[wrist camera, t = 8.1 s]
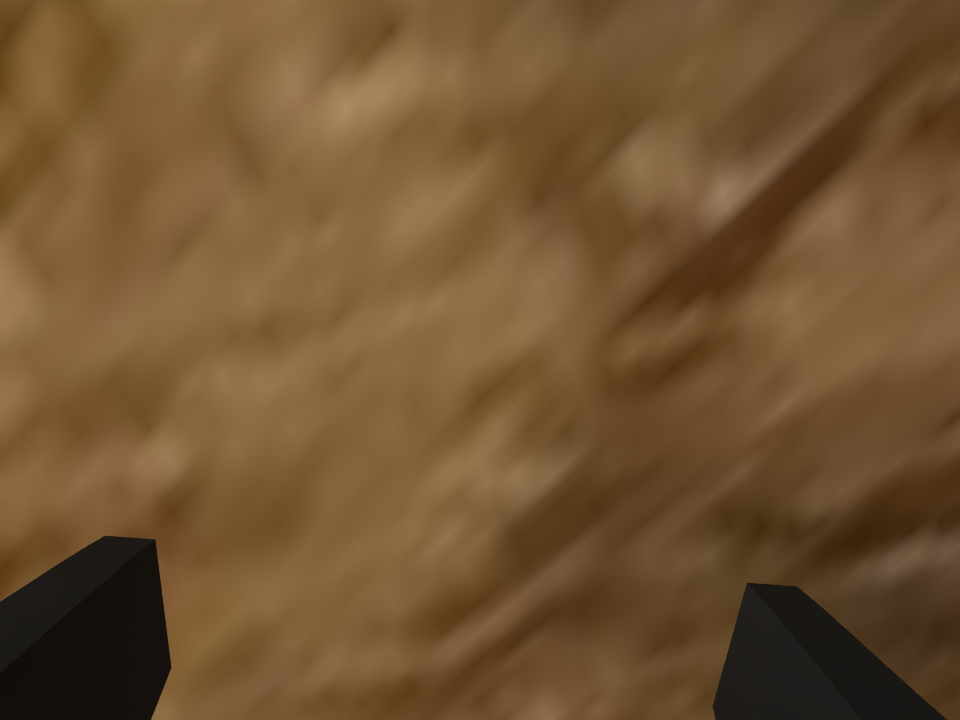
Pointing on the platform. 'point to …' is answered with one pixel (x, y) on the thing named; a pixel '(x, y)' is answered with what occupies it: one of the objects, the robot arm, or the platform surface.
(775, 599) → the robot arm
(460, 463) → the platform surface
